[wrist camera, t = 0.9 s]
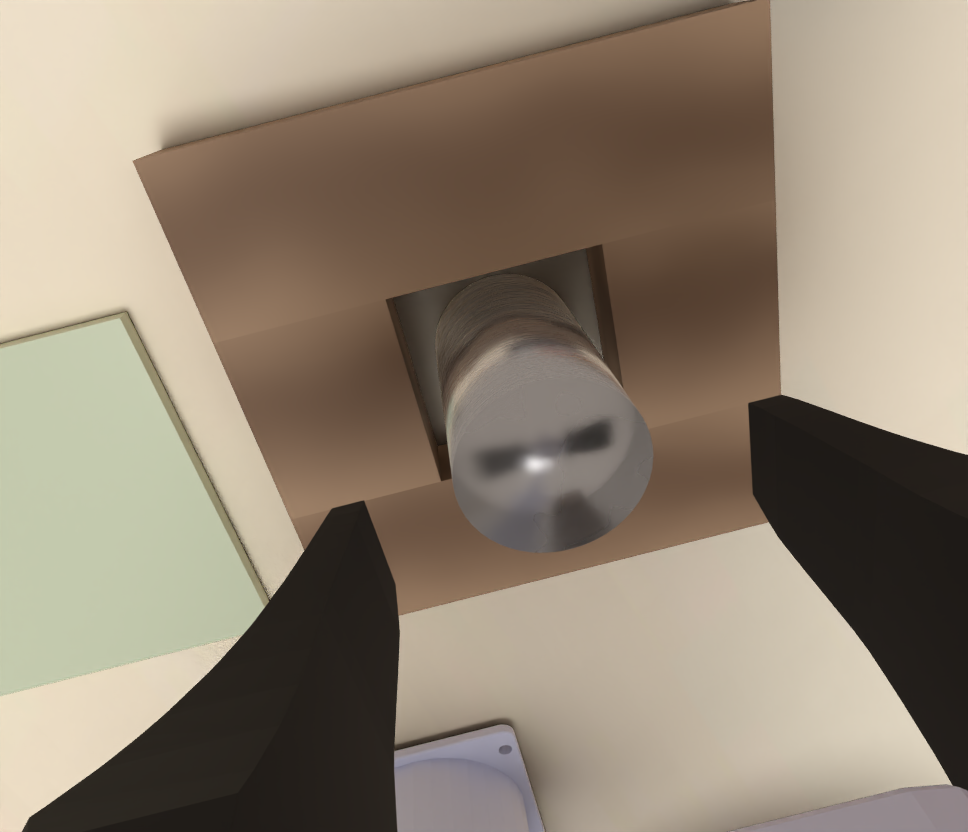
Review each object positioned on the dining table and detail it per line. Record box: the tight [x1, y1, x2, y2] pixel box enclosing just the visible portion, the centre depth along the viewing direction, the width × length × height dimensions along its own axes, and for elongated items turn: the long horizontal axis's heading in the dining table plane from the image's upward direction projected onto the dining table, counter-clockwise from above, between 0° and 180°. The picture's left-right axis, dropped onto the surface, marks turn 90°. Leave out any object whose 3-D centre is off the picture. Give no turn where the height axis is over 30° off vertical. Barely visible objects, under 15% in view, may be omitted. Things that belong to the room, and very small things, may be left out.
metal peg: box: [435, 274, 653, 553], centre depth 17 cm, size 4×4×7 cm
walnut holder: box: [133, 0, 781, 616], centre depth 19 cm, size 14×14×2 cm
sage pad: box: [0, 312, 269, 696], centre depth 21 cm, size 11×11×1 cm
